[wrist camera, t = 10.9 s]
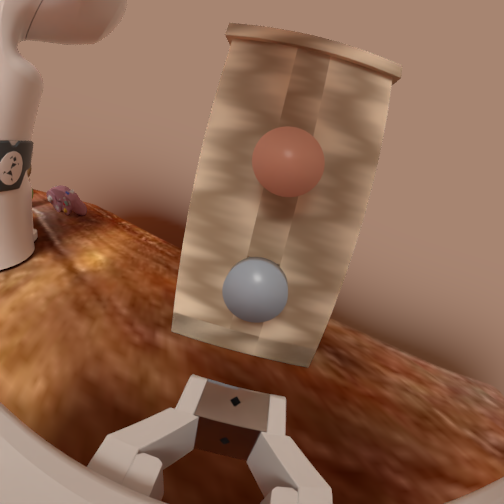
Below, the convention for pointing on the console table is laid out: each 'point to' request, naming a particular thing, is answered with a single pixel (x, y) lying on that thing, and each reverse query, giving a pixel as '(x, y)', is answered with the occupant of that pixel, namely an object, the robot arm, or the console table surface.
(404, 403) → the console table surface
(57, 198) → the video game controller
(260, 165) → the reddish round knob
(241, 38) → the beige tall block
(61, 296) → the console table surface
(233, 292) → the lower key
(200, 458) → the console table surface
